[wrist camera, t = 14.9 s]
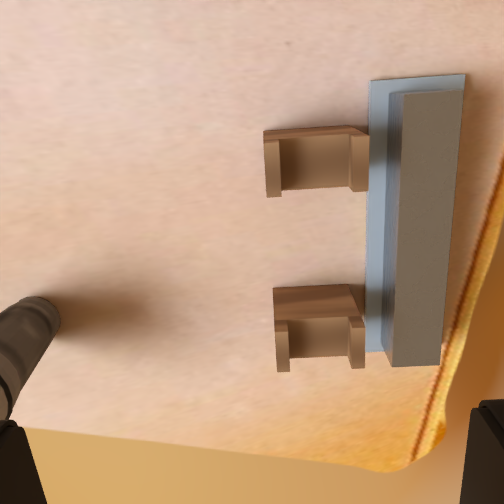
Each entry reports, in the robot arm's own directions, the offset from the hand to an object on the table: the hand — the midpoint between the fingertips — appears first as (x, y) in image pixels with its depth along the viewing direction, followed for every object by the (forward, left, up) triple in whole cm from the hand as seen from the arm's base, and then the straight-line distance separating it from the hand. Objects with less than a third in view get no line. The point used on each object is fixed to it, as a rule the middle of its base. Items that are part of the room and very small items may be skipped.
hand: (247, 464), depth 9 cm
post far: (+12, +4, -30) cm, 33 cm away
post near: (-2, +4, -30) cm, 31 cm away
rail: (+5, +12, -30) cm, 32 cm away
